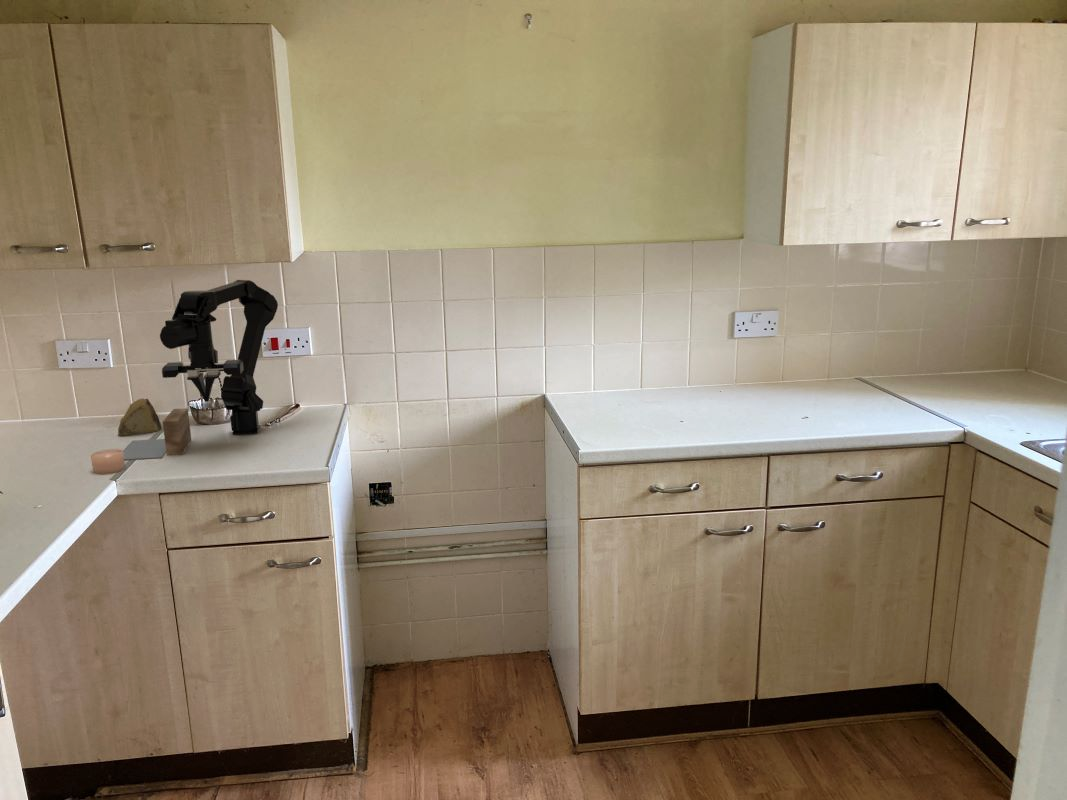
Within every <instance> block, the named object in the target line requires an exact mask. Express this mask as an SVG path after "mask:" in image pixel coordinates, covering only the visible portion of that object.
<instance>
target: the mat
mask: <svg viewBox="0 0 1067 800" xmlns="http://www.w3.org/2000/svg"><path fill="white" fill-rule="evenodd" d="M122 451H123V454H124V461H137V460H139V461H140V460H153V459H154V460H156V459H163V457H164V456H165V455H166V454H167V453H166V445H165V438H157V439H156V438H155V439H138V440H136V439H135V440H131V442H129V444H127V446H126V447H125V448H124V449H123V450H122Z"/></svg>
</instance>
